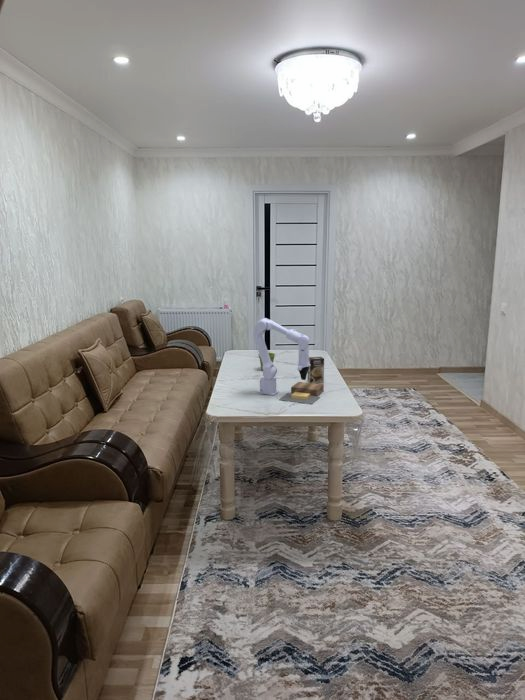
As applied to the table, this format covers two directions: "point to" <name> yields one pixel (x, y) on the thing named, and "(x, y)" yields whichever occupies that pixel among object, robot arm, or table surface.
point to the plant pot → (270, 358)
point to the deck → (308, 388)
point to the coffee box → (316, 370)
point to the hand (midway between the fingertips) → (303, 379)
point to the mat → (309, 400)
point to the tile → (300, 395)
